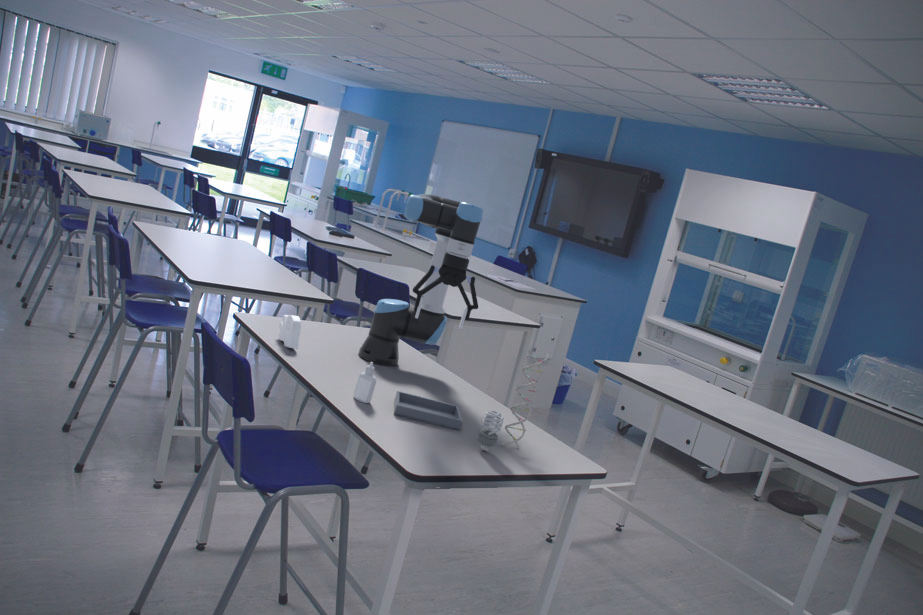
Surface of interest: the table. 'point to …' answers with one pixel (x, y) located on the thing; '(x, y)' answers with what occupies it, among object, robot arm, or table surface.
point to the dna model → (525, 398)
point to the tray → (427, 410)
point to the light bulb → (488, 436)
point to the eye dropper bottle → (365, 385)
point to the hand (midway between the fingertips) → (438, 323)
